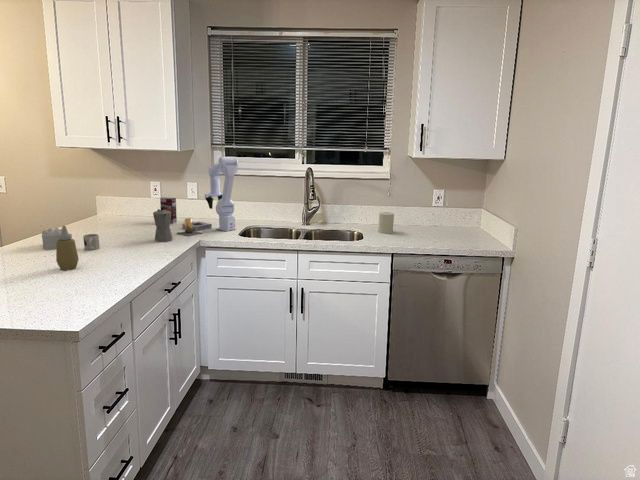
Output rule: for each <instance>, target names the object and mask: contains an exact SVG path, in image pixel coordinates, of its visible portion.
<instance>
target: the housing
mask: <svg viewBox="0 0 640 480" xmlns="http://www.w3.org/2000/svg"><path fill="white" fill-rule="evenodd" d="M212 225H213V224H211V223H208V222H203V221H195V222H194V221H193V231H197V232H200V231H203V230H208V229H212V228H213V227H212ZM182 229H183V230H185V223H183V224H182Z"/></svg>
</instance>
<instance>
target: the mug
mask: <svg viewBox="0 0 640 480" xmlns="http://www.w3.org/2000/svg"><path fill="white" fill-rule="evenodd" d="M82 238H83V247H84V251H98V250H99V249H100V248H101V247H100V239H99V238H100V235H99V234H96V233H89V234H83V237H82Z"/></svg>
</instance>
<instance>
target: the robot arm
mask: <svg viewBox="0 0 640 480" xmlns="http://www.w3.org/2000/svg"><path fill="white" fill-rule="evenodd" d="M238 167H239V161H238V158H237V157H236V156H228V157H227V156H226V157H225V156H220V157H219V158H218V161H217V162H215V164H214V165H213V166H209V167H208V176H209V179H210V180H209V181H210V182H209V185H210V193H206V194H204V198H205V200H206V202H207V204H208V208H209V209H210V210H211V209H213V208H214V207H213V206H214V205H213V202H214V198H215V197H217V202H216V205H215V212H216V214H217V215H218V223H219V224H218V225H219V226H218V227H216V228H215V229H216V230H220V231H225V232H229V231H234V230H237V228H236V218H235V216H233V213H234V212H235V202H234V201H233V200H232V199H231V197H232V190H233V185H234V178H235V175H236V173H238V169H239V168H238ZM222 174H223V175H224V181H223V188H222V192H221V181H220V180H221V175H222Z"/></svg>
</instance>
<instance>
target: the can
mask: <svg viewBox="0 0 640 480" xmlns="http://www.w3.org/2000/svg"><path fill="white" fill-rule="evenodd" d="M394 220H395V213H394V212H390V211H389V212H388V211H382V212H378V227H377V228H378V230H377V232H378V233H379V234H387V235H388V234H393V233H394V222H395V221H394Z"/></svg>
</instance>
